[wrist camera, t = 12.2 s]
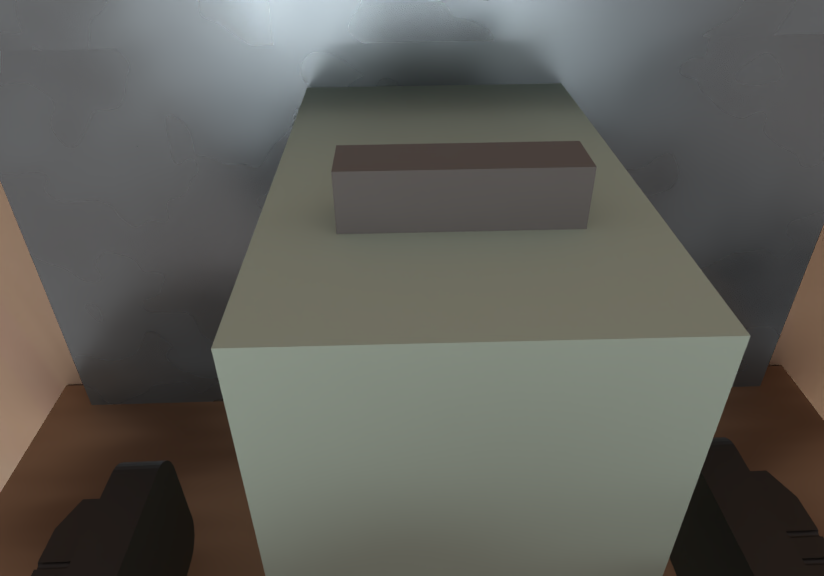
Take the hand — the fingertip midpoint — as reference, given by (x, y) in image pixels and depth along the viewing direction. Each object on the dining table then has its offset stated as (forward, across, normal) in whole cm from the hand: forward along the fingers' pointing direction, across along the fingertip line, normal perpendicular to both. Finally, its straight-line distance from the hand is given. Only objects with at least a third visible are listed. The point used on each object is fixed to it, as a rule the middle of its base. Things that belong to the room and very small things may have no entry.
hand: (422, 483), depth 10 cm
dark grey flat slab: (+6, 0, -2) cm, 7 cm away
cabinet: (+6, 0, -1) cm, 6 cm away
